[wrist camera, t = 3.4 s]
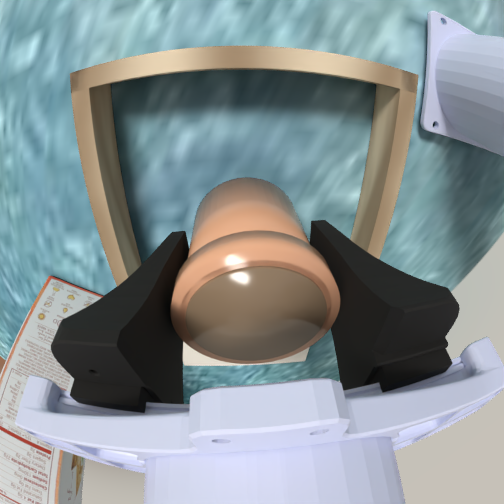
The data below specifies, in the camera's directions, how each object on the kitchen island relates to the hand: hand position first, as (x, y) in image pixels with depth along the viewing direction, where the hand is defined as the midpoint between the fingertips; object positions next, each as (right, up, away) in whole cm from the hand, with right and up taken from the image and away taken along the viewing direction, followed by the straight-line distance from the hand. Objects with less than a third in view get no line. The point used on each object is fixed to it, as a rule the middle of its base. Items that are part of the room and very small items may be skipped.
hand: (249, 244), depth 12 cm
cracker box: (-17, -8, +10) cm, 21 cm away
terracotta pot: (0, +1, +1) cm, 2 cm away
